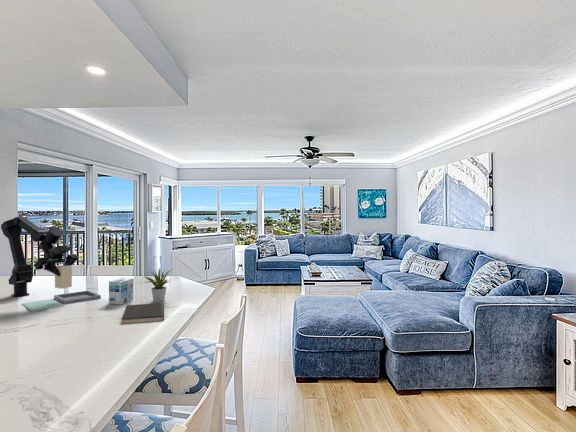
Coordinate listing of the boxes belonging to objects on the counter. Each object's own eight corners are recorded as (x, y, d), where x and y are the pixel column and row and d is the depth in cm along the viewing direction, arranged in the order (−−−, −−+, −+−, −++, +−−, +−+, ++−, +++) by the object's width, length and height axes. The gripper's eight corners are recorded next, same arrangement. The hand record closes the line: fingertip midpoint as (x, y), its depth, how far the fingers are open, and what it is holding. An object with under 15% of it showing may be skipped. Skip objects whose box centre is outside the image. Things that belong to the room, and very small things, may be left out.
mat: (22, 305, 178) (22, 303, 178) (51, 301, 187) (51, 299, 187) (32, 311, 168) (32, 310, 168) (62, 306, 176) (62, 305, 176)
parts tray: (54, 299, 191) (54, 295, 191) (88, 294, 203) (88, 290, 203) (65, 305, 180) (65, 300, 180) (100, 299, 192) (100, 295, 192)
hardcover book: (121, 324, 152) (121, 319, 152) (126, 310, 174) (126, 305, 174) (164, 321, 157) (164, 316, 157) (163, 307, 179) (163, 302, 179)
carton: (54, 287, 183) (54, 266, 183) (64, 285, 188) (64, 264, 188) (61, 288, 181) (61, 267, 181) (71, 286, 186) (71, 265, 185)
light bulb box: (120, 304, 181) (120, 282, 181) (108, 304, 183) (108, 281, 183) (134, 299, 192) (134, 278, 192) (122, 298, 193) (122, 277, 193)
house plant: (165, 295, 202) (165, 264, 201) (181, 299, 193) (181, 266, 192) (139, 300, 191) (139, 267, 190) (155, 304, 182) (155, 270, 181)
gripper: (38, 240, 177) (53, 266, 173) (75, 237, 194) (90, 261, 190) (27, 256, 181) (42, 282, 176) (65, 252, 198) (79, 275, 193)
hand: (65, 274), depth 184 cm, fingers closed on carton, 5 cm apart
